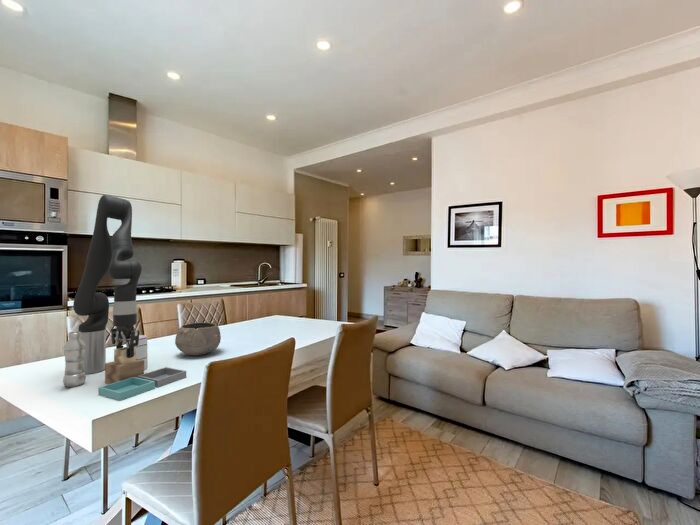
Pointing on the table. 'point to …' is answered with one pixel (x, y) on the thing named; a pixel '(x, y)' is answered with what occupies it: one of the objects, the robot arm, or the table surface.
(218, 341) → the clay pot
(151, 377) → the gray bin
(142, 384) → the teal bin
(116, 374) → the walnut stand
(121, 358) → the letter cube
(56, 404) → the table surface
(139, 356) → the syrup box
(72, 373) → the plastic bottle
